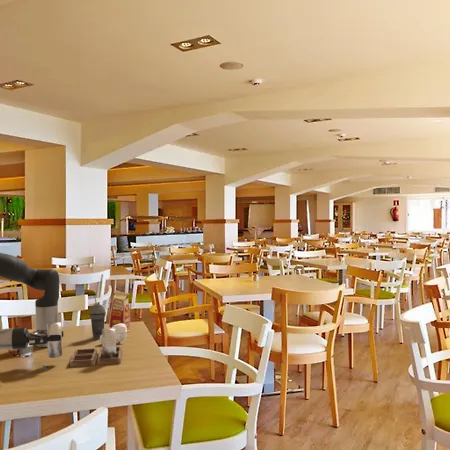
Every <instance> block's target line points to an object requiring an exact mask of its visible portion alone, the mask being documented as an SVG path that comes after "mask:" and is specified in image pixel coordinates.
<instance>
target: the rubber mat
mask: <svg viewBox="0 0 450 450" xmlns="http://www.w3.org/2000/svg"><path fill="white" fill-rule="evenodd" d="M46 370H50V367H48V366H45V365H44V364H42V366H41V367H40V368H39V371H46Z"/></svg>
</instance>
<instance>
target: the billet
mask: <svg viewBox="0 0 450 450" xmlns="http://www.w3.org/2000/svg"><path fill="white" fill-rule="evenodd" d="M101 344H102V347H101V348H102V351H103V359H104V358H116V347H117V341H116V328H109V327H104V329H102V343H101Z"/></svg>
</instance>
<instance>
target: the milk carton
mask: <svg viewBox="0 0 450 450" xmlns="http://www.w3.org/2000/svg"><path fill="white" fill-rule="evenodd" d="M114 291H115V293H114V295H113V299H112V304H111V307H110V314H109V315H110V316H109V321H108V323H109V324H108V328H112V327H114V326H115V325H116V324H120V323H123V324H125V325H126V327H127V333H129V332H130V331H131V312H130V303H129V295H130V294H131V293H129V292H122V291H119V290H114Z"/></svg>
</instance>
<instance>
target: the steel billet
mask: <svg viewBox="0 0 450 450" xmlns="http://www.w3.org/2000/svg"><path fill="white" fill-rule="evenodd" d="M62 328H63V326H62V322H61V321H58V322H50V323H47V335H59V334H60V335H61V340H60V341H51V342H49V343H47V344H48V347H47V358H50V359H53V358H55V359H56V358H60V357H62V356H63V337H62V331H63V330H62Z"/></svg>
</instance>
